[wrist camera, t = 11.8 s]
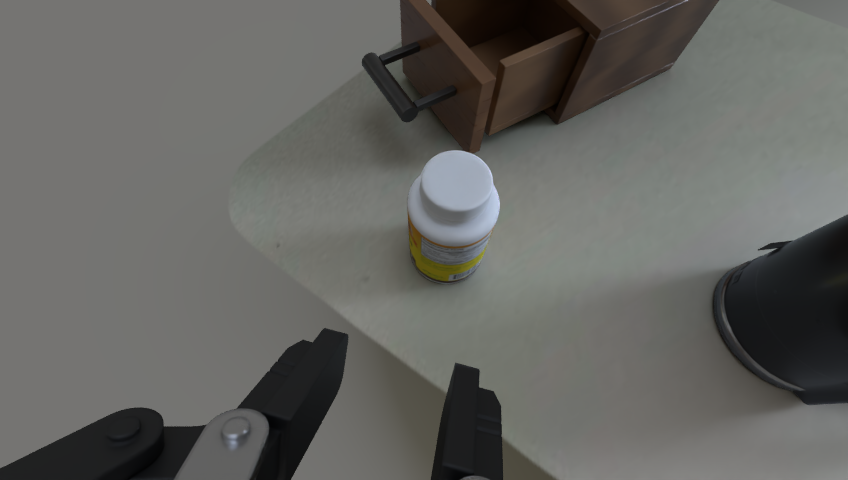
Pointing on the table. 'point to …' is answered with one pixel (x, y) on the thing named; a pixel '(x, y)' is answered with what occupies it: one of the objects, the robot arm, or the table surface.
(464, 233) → the supplement bottle
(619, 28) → the cabinet
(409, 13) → the drawer
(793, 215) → the table surface
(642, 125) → the table surface
